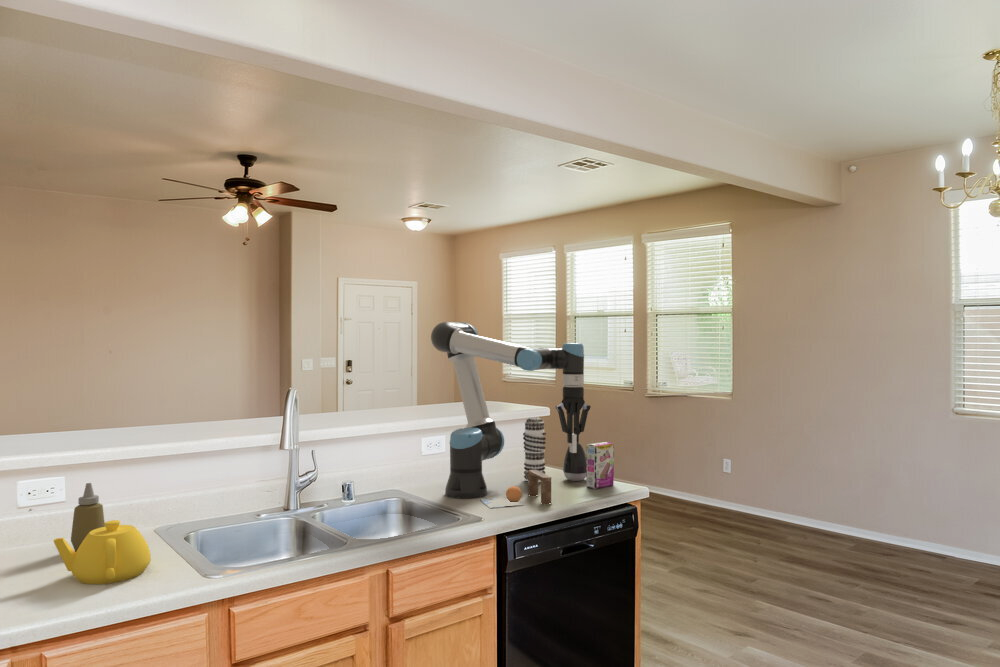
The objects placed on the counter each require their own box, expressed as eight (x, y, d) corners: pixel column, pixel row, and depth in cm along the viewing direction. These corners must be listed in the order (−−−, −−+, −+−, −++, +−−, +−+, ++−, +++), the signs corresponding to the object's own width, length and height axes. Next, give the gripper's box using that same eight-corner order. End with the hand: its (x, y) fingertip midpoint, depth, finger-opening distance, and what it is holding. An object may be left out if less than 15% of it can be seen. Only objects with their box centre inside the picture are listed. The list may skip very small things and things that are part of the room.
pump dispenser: (588, 477, 273) (587, 440, 274) (588, 482, 263) (588, 444, 263) (562, 477, 274) (562, 439, 275) (562, 482, 264) (562, 443, 264)
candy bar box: (596, 489, 251) (595, 445, 251) (585, 487, 255) (585, 444, 255) (614, 485, 259) (614, 442, 259) (604, 483, 262) (604, 441, 262)
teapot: (150, 559, 172) (151, 509, 173) (150, 582, 156) (150, 527, 156) (58, 572, 163) (58, 519, 163) (47, 598, 146) (47, 539, 147)
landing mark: (479, 500, 235) (479, 499, 235) (512, 497, 238) (512, 497, 238) (490, 508, 223) (490, 507, 223) (523, 505, 227) (523, 505, 227)
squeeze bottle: (66, 557, 174) (66, 487, 174) (76, 547, 182) (76, 481, 182) (101, 554, 177) (101, 485, 177) (109, 545, 184) (109, 479, 185)
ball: (521, 489, 236) (512, 503, 235) (509, 481, 234) (500, 495, 233) (527, 493, 230) (518, 507, 229) (515, 485, 229) (506, 498, 228)
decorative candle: (535, 477, 274) (535, 416, 274) (551, 481, 267) (550, 418, 267) (518, 480, 268) (518, 417, 269) (533, 484, 261) (533, 419, 261)
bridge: (543, 505, 228) (543, 477, 228) (528, 495, 241) (528, 470, 242) (551, 504, 229) (551, 477, 229) (536, 495, 242) (536, 469, 243)
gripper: (560, 387, 234) (560, 454, 234) (594, 386, 238) (594, 453, 238) (552, 385, 241) (552, 451, 241) (585, 385, 245) (585, 449, 245)
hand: (573, 452), depth 239 cm, fingers closed
